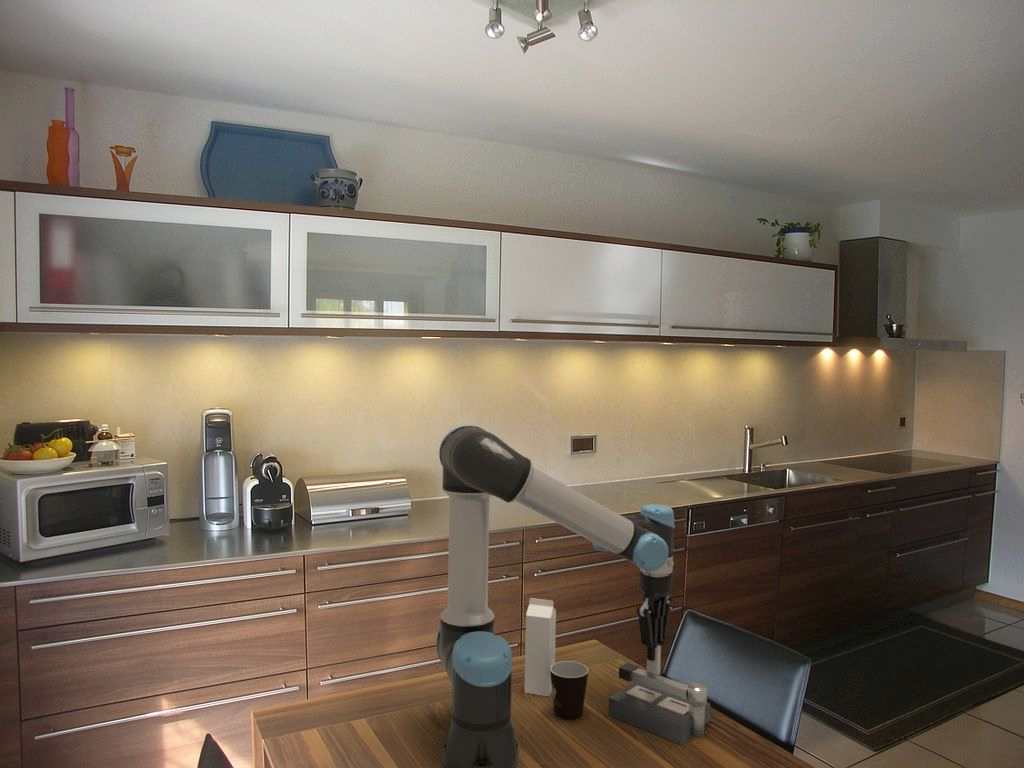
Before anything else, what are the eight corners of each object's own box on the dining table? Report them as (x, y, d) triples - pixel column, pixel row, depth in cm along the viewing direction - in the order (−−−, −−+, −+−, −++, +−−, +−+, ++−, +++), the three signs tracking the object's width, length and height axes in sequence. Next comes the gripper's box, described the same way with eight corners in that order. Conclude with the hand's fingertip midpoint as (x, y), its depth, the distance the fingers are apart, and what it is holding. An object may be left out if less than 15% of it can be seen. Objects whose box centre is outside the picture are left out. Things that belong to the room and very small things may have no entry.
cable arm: (710, 701, 153) (710, 686, 153) (701, 708, 150) (701, 693, 150) (627, 672, 167) (628, 658, 167) (618, 678, 164) (618, 664, 164)
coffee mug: (585, 724, 156) (586, 679, 156) (546, 720, 158) (547, 675, 157) (590, 699, 167) (591, 657, 167) (553, 695, 169) (554, 654, 169)
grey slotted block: (608, 715, 160) (609, 686, 160) (639, 695, 170) (639, 668, 170) (688, 747, 147) (689, 716, 147) (716, 723, 157) (717, 694, 157)
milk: (530, 682, 176) (532, 593, 175) (554, 686, 174) (556, 596, 173) (524, 693, 170) (525, 601, 169) (549, 697, 168) (550, 604, 167)
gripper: (656, 582, 159) (653, 687, 160) (684, 569, 168) (681, 668, 169) (627, 575, 163) (624, 676, 164) (655, 563, 173) (653, 659, 174)
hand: (653, 672), depth 167 cm, fingers closed
